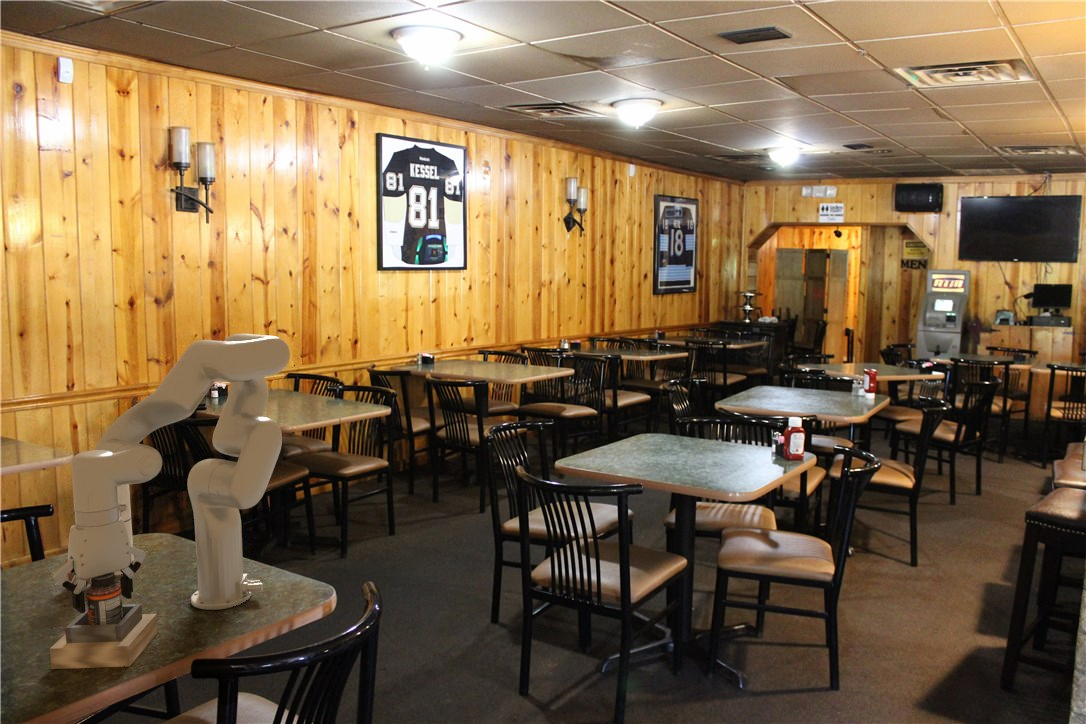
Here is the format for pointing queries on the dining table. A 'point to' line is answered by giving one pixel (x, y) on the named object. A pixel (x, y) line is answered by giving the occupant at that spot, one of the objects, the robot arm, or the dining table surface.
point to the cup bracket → (104, 641)
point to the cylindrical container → (126, 515)
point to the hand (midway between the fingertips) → (103, 603)
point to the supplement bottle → (104, 600)
